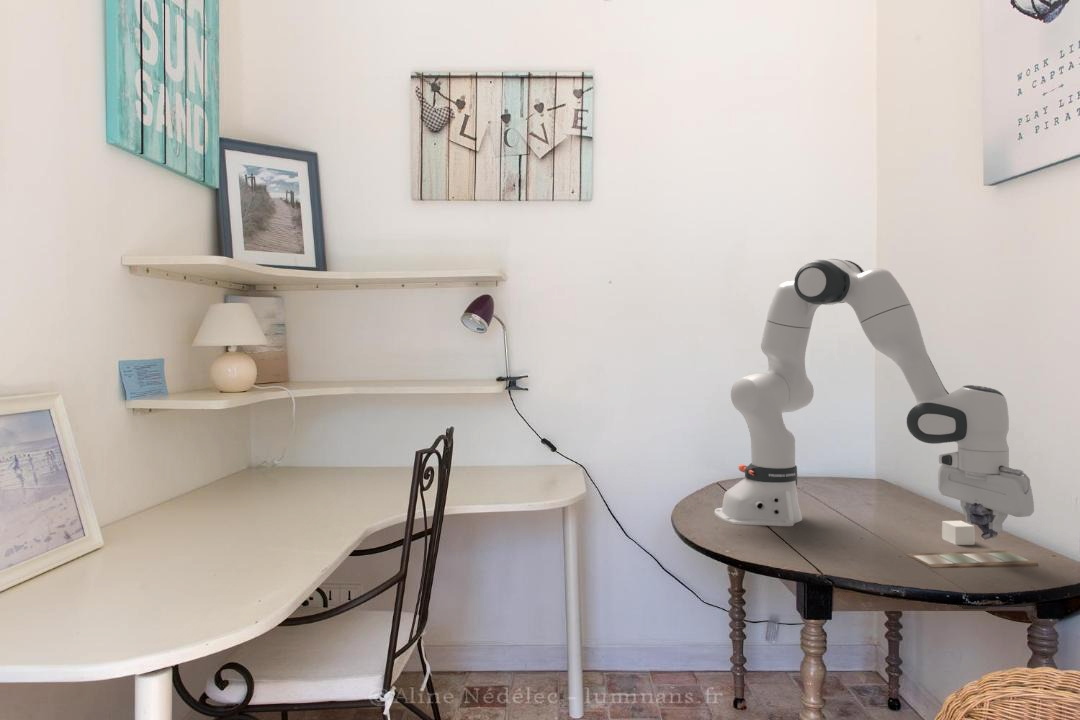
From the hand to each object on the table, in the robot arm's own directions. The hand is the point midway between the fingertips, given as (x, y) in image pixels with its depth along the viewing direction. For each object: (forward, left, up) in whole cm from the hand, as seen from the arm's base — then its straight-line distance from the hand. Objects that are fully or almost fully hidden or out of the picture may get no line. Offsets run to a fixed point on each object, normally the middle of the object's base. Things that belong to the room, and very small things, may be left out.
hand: (983, 526), depth 130 cm
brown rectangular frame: (-3, 0, -7) cm, 8 cm away
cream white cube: (+4, +12, -8) cm, 15 cm away
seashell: (0, 0, -3) cm, 3 cm away
